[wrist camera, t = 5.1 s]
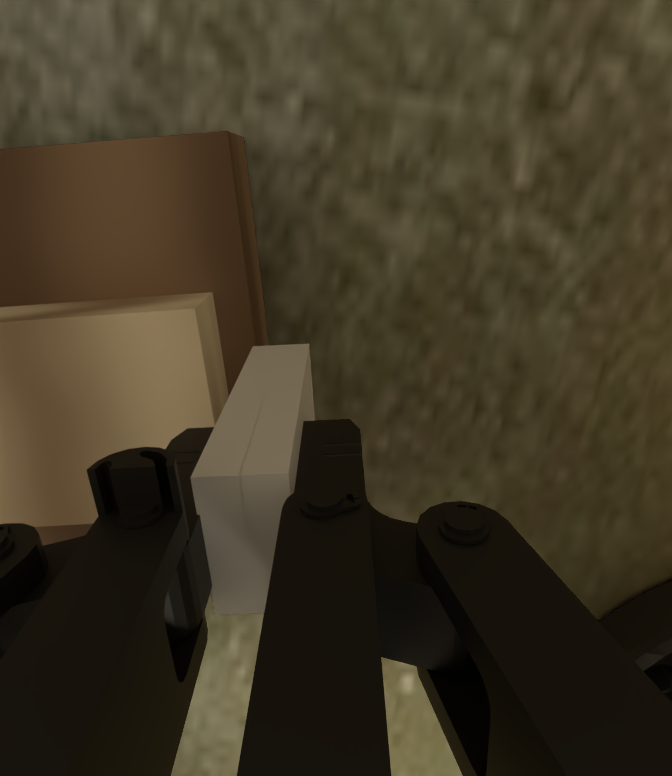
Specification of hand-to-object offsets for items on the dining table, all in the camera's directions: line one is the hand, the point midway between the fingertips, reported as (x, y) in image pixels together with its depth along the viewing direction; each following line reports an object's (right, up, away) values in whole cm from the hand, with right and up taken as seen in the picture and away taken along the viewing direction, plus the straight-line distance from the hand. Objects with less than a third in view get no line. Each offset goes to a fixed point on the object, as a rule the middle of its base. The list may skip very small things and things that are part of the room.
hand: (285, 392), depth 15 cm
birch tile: (-6, 0, +2) cm, 6 cm away
